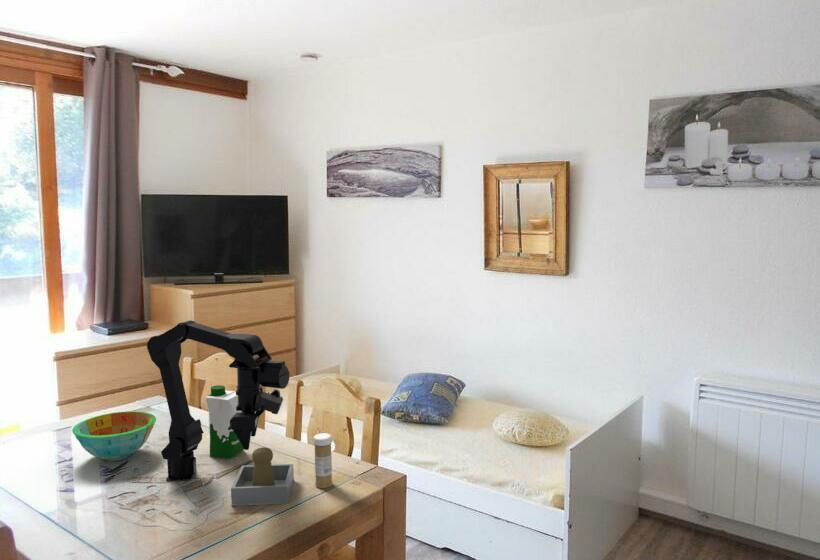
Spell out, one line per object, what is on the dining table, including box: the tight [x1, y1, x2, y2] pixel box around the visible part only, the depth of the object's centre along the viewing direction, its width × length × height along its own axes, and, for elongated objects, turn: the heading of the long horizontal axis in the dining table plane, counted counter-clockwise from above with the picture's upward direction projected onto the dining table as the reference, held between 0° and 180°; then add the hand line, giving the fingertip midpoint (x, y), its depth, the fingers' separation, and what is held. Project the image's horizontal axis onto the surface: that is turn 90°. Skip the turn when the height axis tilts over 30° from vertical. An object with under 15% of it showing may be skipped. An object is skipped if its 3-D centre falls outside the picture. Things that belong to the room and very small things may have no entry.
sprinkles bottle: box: [313, 432, 333, 489], centre depth 166 cm, size 5×5×13 cm
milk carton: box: [204, 384, 245, 460], centre depth 187 cm, size 9×9×20 cm
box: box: [230, 463, 295, 507], centre depth 162 cm, size 14×14×4 cm
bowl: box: [71, 410, 157, 462], centre depth 186 cm, size 22×22×10 cm
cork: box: [251, 446, 275, 486], centre depth 162 cm, size 6×6×11 cm
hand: (250, 442), depth 166 cm, fingers open, 9 cm apart
